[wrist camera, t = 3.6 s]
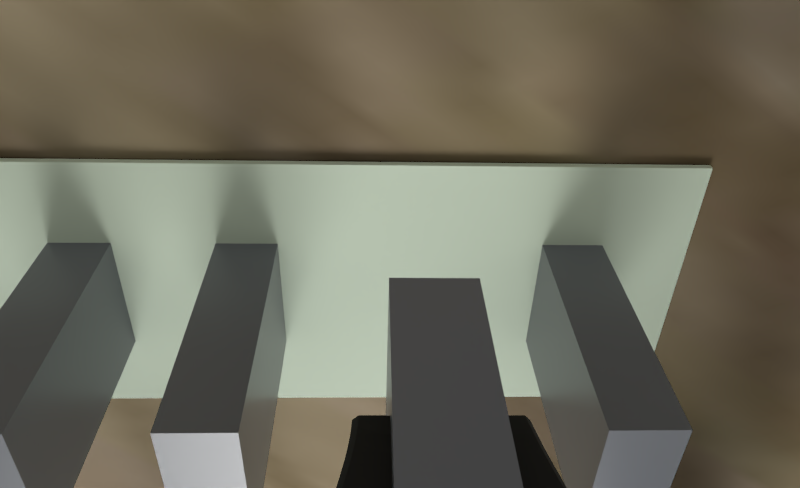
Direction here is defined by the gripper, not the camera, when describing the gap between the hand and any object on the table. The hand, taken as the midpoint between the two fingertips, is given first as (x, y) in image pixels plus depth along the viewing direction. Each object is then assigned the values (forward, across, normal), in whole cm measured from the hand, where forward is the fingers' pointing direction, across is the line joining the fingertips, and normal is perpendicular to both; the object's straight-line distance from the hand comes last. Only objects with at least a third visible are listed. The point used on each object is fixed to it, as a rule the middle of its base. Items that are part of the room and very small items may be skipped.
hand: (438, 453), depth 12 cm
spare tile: (+3, 0, 0) cm, 3 cm away
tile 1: (+9, -5, +3) cm, 10 cm away
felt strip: (+9, +5, +3) cm, 10 cm away
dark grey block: (+9, +10, +3) cm, 13 cm away
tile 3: (+9, +5, +3) cm, 10 cm away
